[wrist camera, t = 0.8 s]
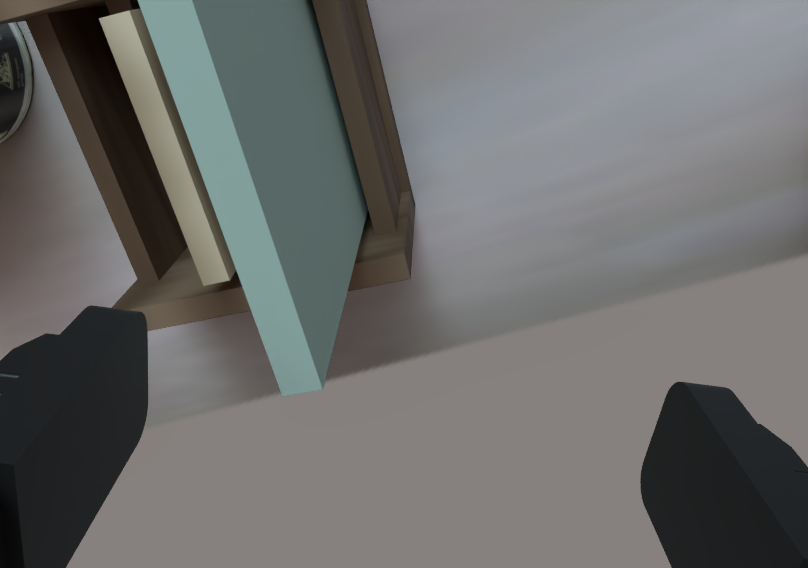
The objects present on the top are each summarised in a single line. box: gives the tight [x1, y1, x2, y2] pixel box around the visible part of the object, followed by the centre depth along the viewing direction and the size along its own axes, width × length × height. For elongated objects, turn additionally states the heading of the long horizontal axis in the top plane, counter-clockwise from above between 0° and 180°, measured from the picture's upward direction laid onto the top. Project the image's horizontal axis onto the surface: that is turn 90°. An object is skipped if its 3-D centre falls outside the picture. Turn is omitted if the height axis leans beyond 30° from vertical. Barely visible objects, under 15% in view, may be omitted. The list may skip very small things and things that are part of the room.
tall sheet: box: [138, 0, 368, 397], centre depth 27 cm, size 1×11×20 cm, turn 14°
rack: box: [0, 0, 415, 331], centre depth 33 cm, size 14×15×10 cm
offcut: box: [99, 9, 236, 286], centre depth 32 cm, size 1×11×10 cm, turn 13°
